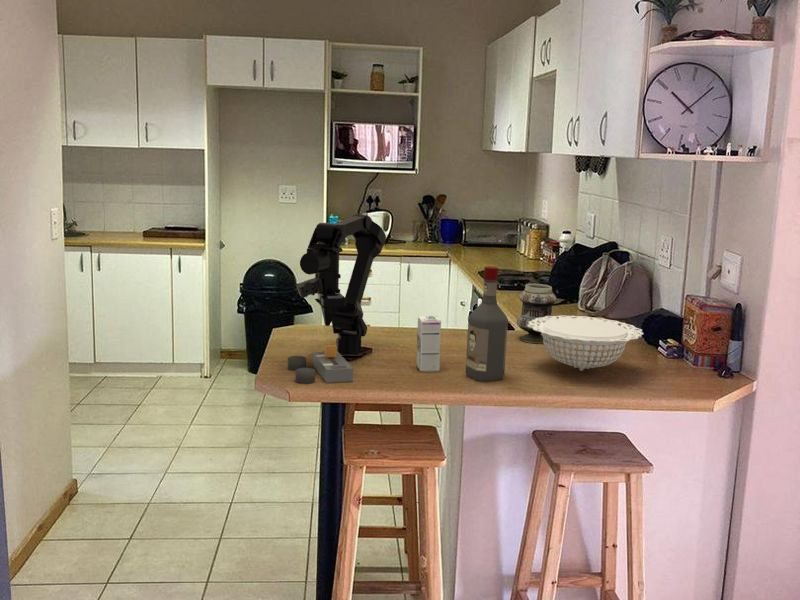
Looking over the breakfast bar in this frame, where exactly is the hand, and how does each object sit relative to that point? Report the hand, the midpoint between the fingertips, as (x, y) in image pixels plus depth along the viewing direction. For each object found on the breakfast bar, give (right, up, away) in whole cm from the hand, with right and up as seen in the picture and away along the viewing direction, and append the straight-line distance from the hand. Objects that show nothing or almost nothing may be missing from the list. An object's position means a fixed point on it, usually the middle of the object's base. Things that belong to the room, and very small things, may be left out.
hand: (327, 325), depth 227 cm
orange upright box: (+1, -8, -3) cm, 9 cm away
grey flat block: (+2, -12, -5) cm, 14 cm away
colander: (+71, -13, +7) cm, 73 cm away
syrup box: (+28, -12, +3) cm, 30 cm away
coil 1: (-8, -12, -2) cm, 14 cm away
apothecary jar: (+64, -6, +41) cm, 76 cm away
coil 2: (-5, -14, -13) cm, 20 cm away
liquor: (+43, -14, -3) cm, 45 cm away
